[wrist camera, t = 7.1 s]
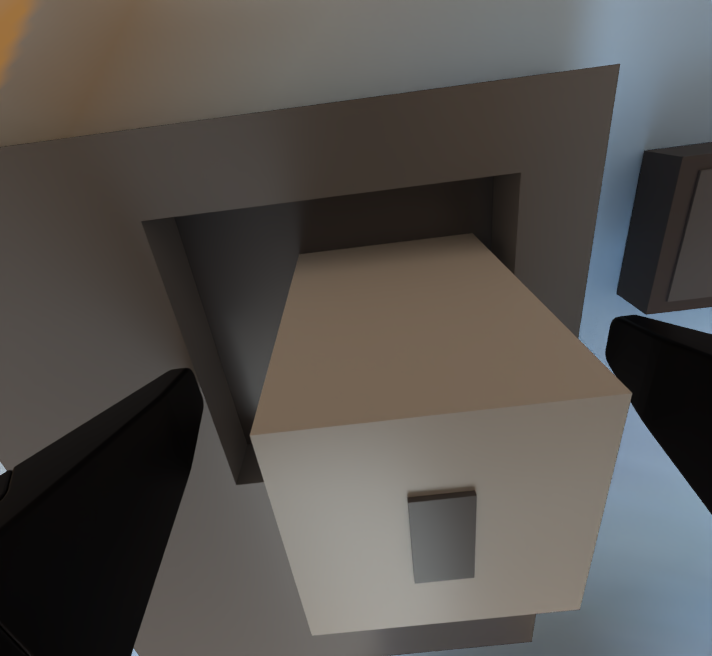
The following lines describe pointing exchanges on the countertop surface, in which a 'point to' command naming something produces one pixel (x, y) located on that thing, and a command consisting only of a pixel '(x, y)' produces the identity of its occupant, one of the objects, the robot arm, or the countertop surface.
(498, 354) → the block
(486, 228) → the outlet plate
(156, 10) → the countertop surface
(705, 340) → the robot arm
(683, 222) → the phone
